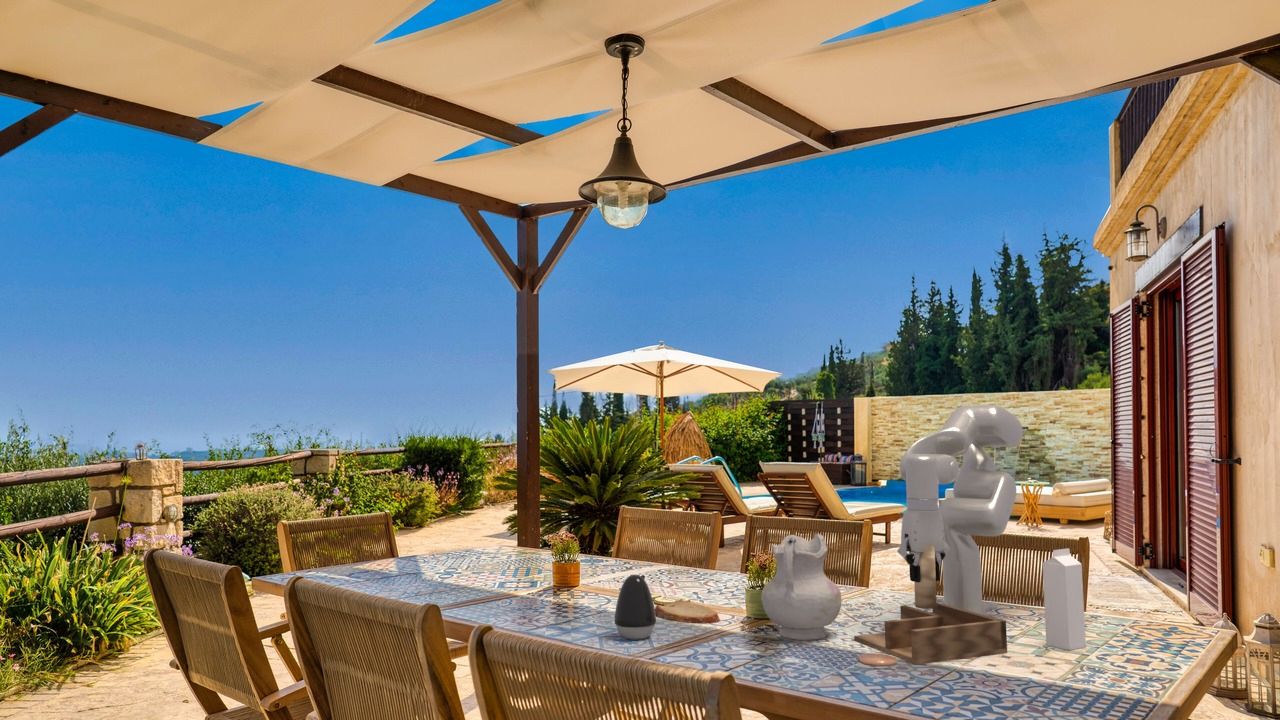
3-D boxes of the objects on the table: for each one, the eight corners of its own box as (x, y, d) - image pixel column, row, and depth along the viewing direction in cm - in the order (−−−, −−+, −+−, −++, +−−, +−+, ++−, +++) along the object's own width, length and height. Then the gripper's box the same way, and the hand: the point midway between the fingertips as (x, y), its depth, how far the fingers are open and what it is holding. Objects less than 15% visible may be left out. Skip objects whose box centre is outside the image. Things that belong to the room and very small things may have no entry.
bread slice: (720, 624, 232) (720, 610, 233) (652, 624, 233) (652, 610, 234) (718, 610, 250) (718, 597, 251) (654, 610, 251) (654, 597, 252)
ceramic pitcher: (840, 652, 205) (845, 544, 207) (755, 643, 209) (761, 536, 211) (838, 632, 226) (843, 533, 228) (761, 623, 230) (767, 526, 232)
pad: (882, 655, 198) (882, 652, 198) (904, 663, 191) (904, 660, 191) (851, 658, 196) (851, 655, 196) (872, 667, 188) (872, 664, 188)
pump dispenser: (663, 634, 221) (662, 572, 222) (645, 643, 212) (644, 579, 213) (626, 631, 225) (625, 570, 226) (607, 640, 216) (607, 576, 217)
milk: (1086, 647, 203) (1082, 549, 204) (1069, 650, 200) (1065, 551, 201) (1062, 641, 208) (1058, 546, 210) (1045, 645, 205) (1041, 548, 207)
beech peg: (927, 604, 219) (925, 543, 221) (941, 608, 215) (939, 545, 216) (910, 605, 217) (909, 543, 219) (923, 609, 213) (922, 546, 214)
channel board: (938, 630, 221) (937, 602, 221) (1007, 652, 199) (1005, 621, 199) (854, 640, 212) (853, 610, 213) (916, 664, 190) (915, 631, 191)
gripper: (941, 503, 225) (943, 576, 223) (884, 505, 219) (886, 580, 217) (961, 505, 218) (963, 581, 216) (903, 507, 212) (905, 585, 210)
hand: (925, 580), depth 217 cm, fingers closed on beech peg, 5 cm apart
